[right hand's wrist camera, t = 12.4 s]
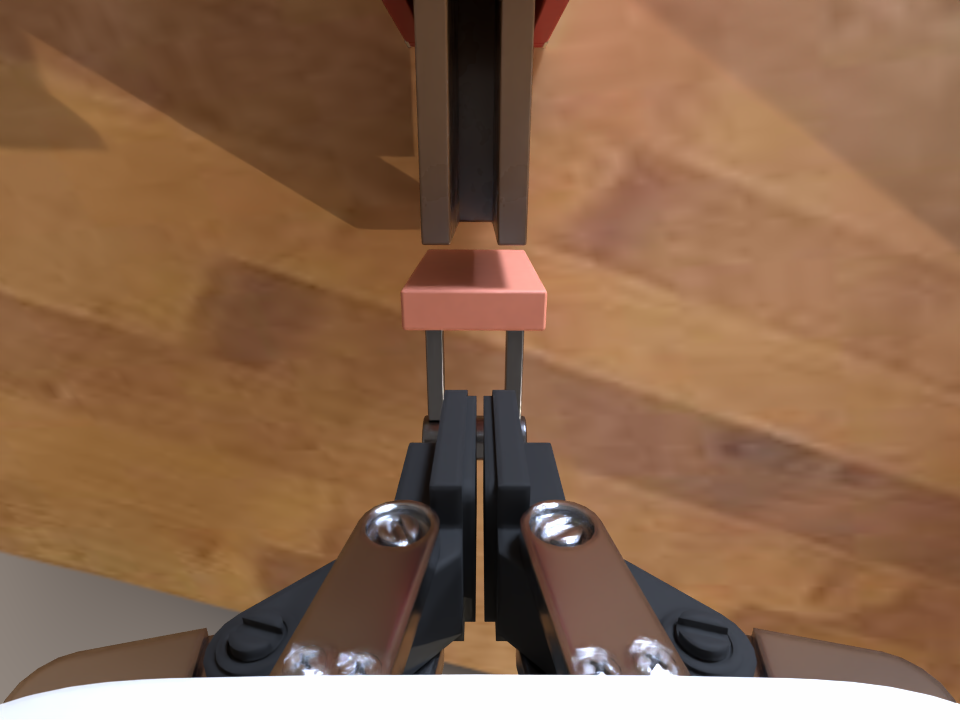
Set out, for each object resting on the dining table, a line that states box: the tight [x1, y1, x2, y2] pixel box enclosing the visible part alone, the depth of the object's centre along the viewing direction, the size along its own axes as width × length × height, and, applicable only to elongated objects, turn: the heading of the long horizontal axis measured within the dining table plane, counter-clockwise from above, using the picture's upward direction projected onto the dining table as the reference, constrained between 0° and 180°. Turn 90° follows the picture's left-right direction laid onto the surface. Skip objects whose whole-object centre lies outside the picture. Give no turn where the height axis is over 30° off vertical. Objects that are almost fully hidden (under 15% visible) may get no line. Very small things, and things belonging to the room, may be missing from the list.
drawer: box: [401, 0, 547, 460], centre depth 16 cm, size 26×4×8 cm, turn 0°
